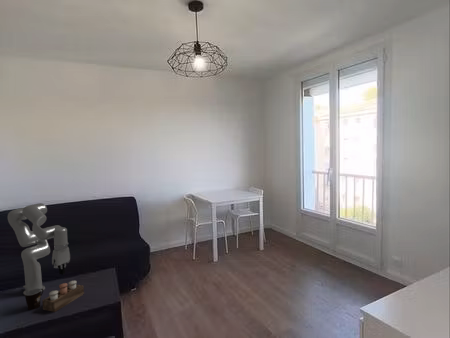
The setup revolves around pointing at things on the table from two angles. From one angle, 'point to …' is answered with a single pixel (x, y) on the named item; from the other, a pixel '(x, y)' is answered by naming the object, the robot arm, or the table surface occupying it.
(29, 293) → the coffee mug
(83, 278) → the table surface
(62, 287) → the terracotta plug
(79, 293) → the socket block
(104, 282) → the table surface
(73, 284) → the cream plug
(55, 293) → the cream plug
